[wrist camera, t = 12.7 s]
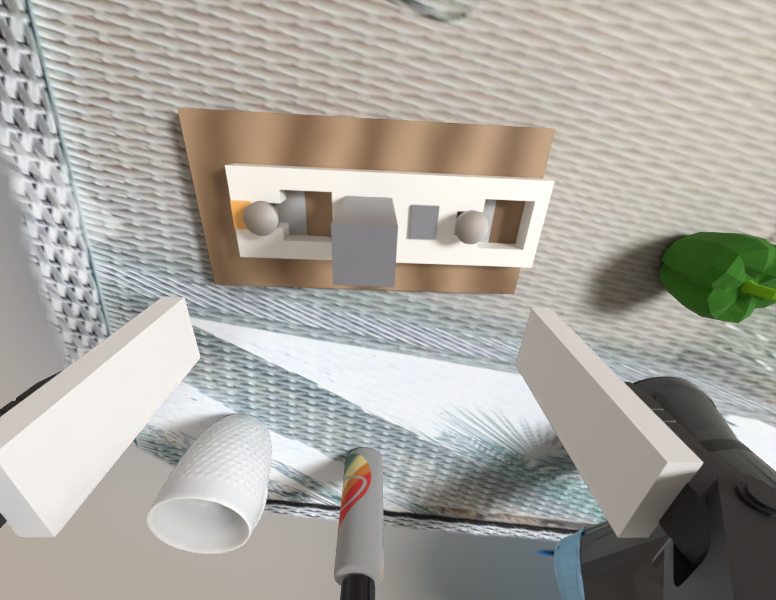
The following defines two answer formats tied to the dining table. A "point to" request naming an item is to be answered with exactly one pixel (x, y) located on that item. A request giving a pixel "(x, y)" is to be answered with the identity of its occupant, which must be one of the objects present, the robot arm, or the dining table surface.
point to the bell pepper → (720, 274)
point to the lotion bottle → (360, 526)
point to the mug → (215, 489)
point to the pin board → (353, 151)
